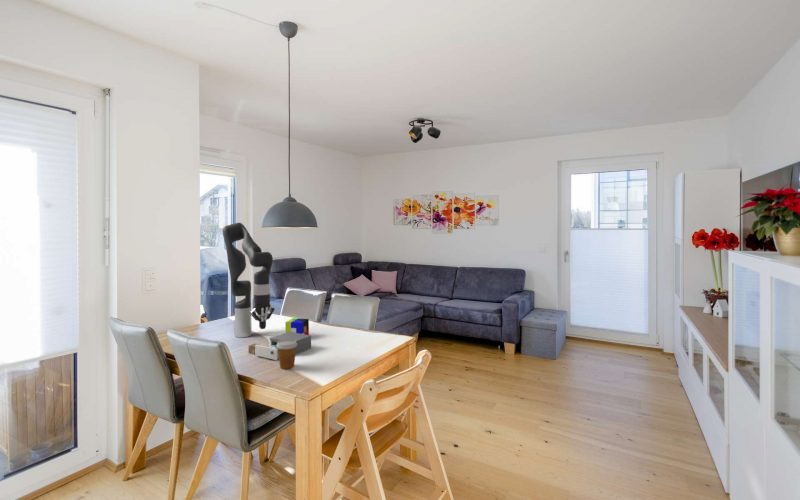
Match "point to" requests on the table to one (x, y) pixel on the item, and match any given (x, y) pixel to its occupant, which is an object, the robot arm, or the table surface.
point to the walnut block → (252, 348)
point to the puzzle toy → (298, 326)
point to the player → (301, 339)
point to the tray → (266, 352)
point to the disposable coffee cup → (286, 353)
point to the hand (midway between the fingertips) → (262, 328)
